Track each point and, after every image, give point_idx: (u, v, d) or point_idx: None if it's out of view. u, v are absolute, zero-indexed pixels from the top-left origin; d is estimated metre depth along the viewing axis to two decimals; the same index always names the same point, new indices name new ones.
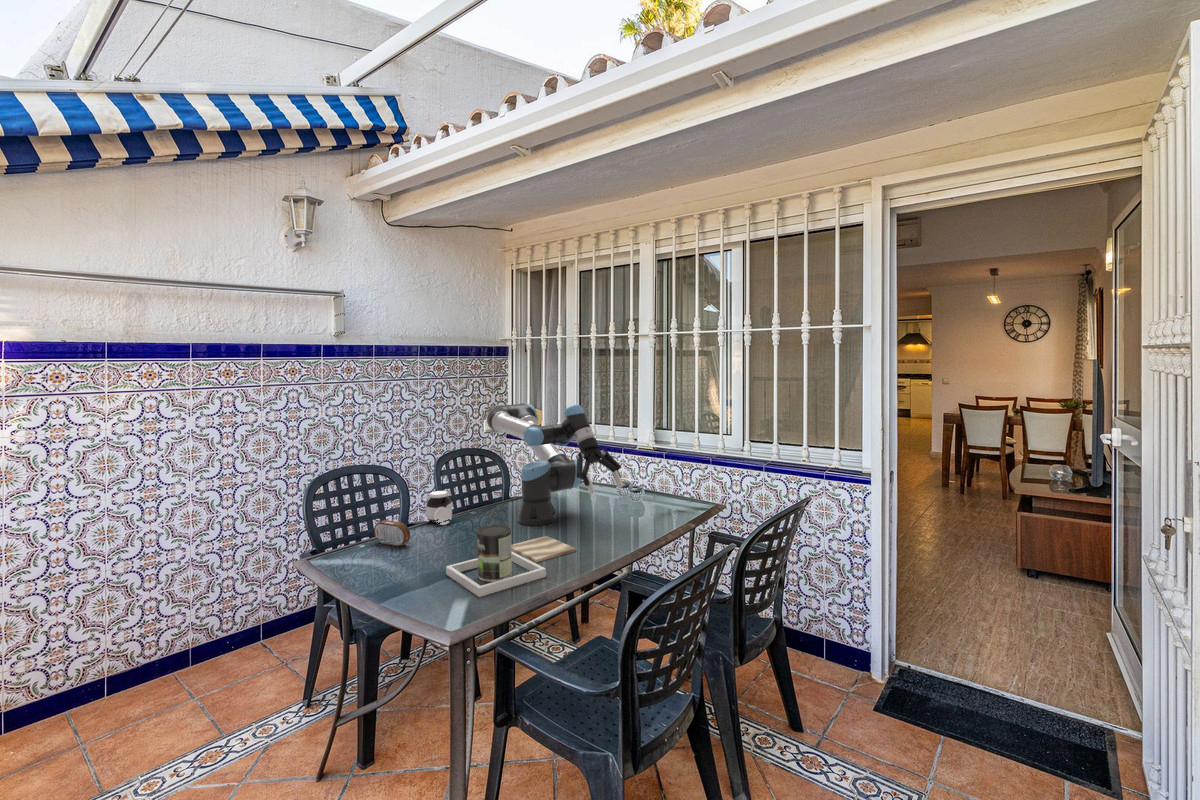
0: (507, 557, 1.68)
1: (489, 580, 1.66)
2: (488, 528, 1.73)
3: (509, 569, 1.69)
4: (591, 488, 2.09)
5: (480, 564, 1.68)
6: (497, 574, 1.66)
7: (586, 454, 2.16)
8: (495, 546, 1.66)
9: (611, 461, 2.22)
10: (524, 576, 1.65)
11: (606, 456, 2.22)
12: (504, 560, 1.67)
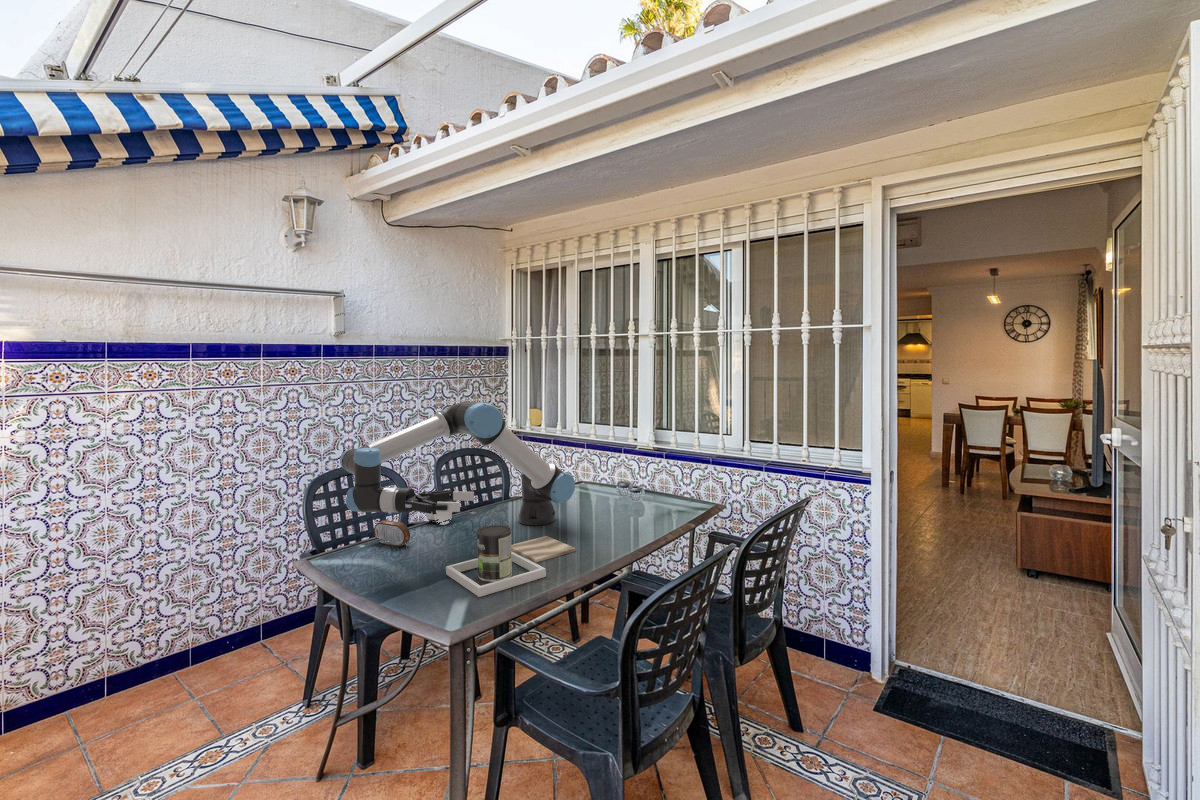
0: (507, 557, 1.68)
1: (489, 580, 1.66)
2: (488, 528, 1.73)
3: (509, 569, 1.69)
4: None
5: (480, 564, 1.68)
6: (497, 574, 1.66)
7: None
8: (495, 546, 1.66)
9: None
10: (524, 576, 1.65)
11: None
12: (504, 560, 1.67)
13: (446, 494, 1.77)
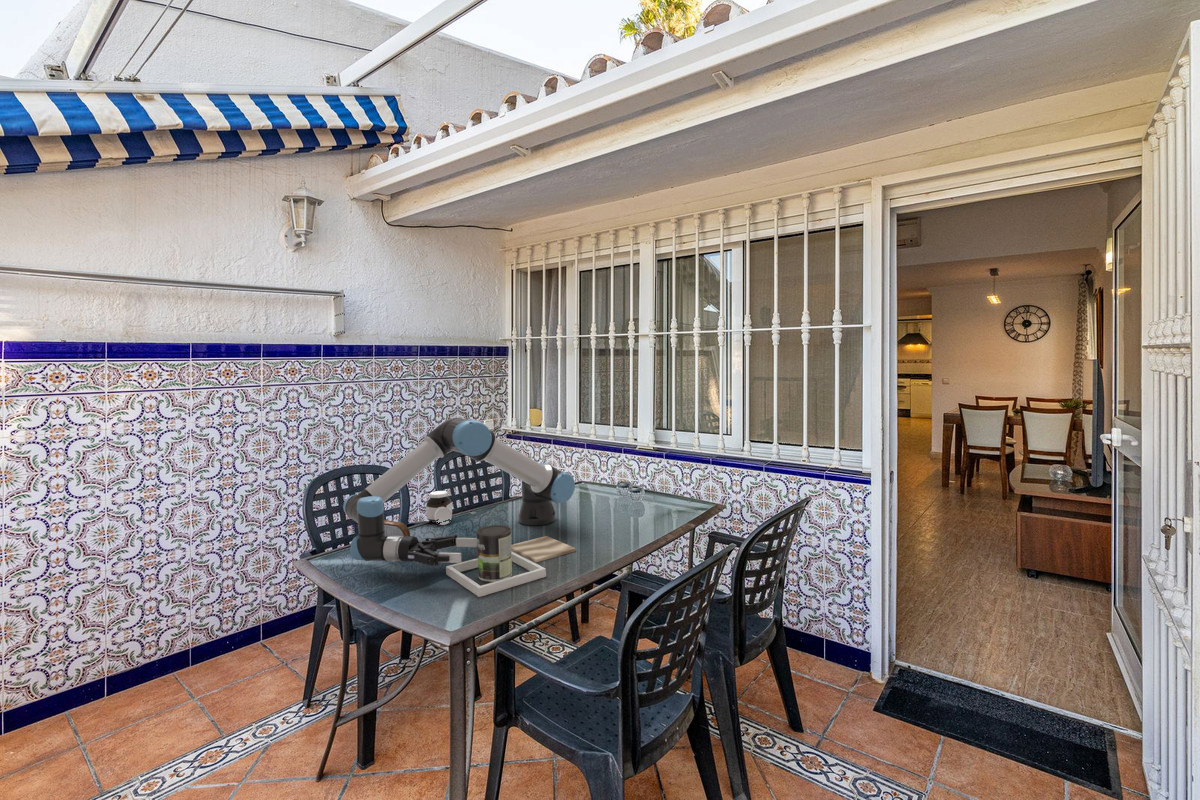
0: (507, 557, 1.68)
1: (489, 580, 1.66)
2: (488, 528, 1.73)
3: (509, 569, 1.69)
4: None
5: (480, 564, 1.68)
6: (497, 574, 1.66)
7: None
8: (495, 546, 1.66)
9: None
10: (524, 576, 1.65)
11: None
12: (504, 560, 1.67)
13: (449, 541, 1.78)
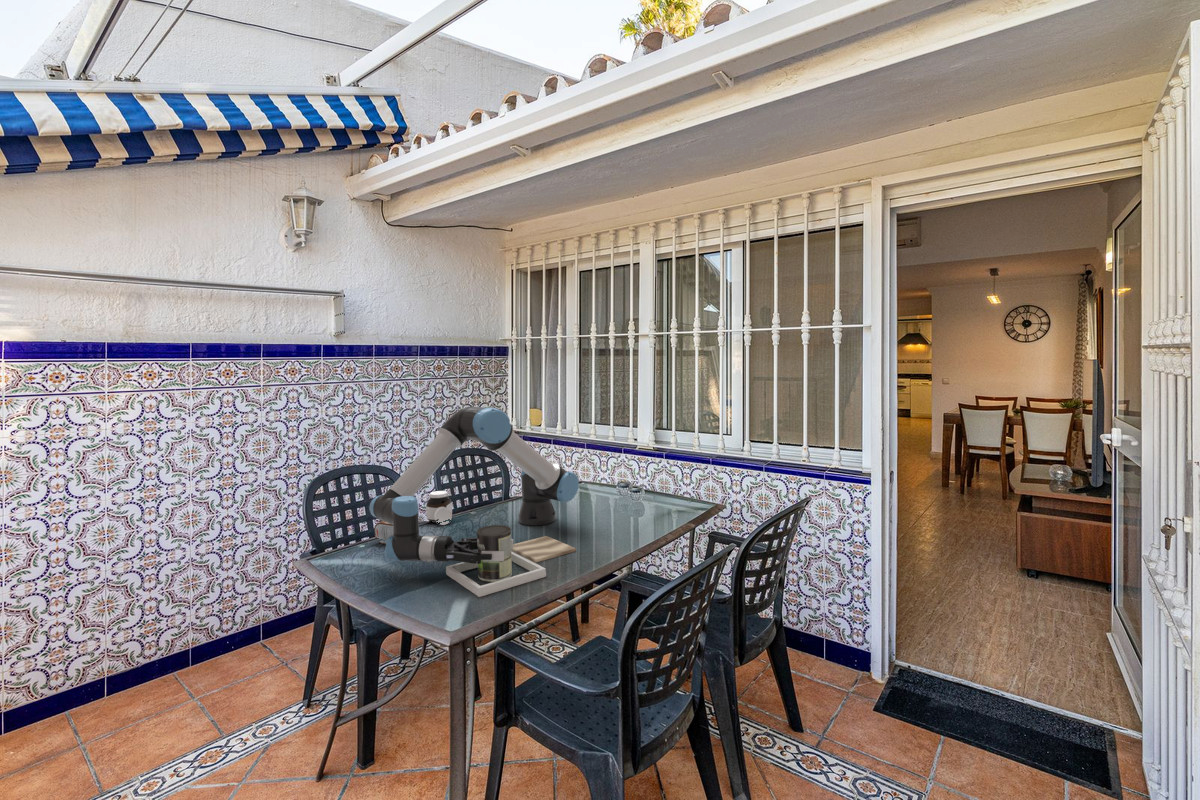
0: (507, 557, 1.68)
1: (489, 580, 1.66)
2: (488, 528, 1.73)
3: (509, 569, 1.69)
4: None
5: (480, 564, 1.68)
6: (496, 574, 1.66)
7: None
8: (495, 546, 1.66)
9: None
10: (524, 576, 1.65)
11: None
12: (504, 560, 1.67)
13: None
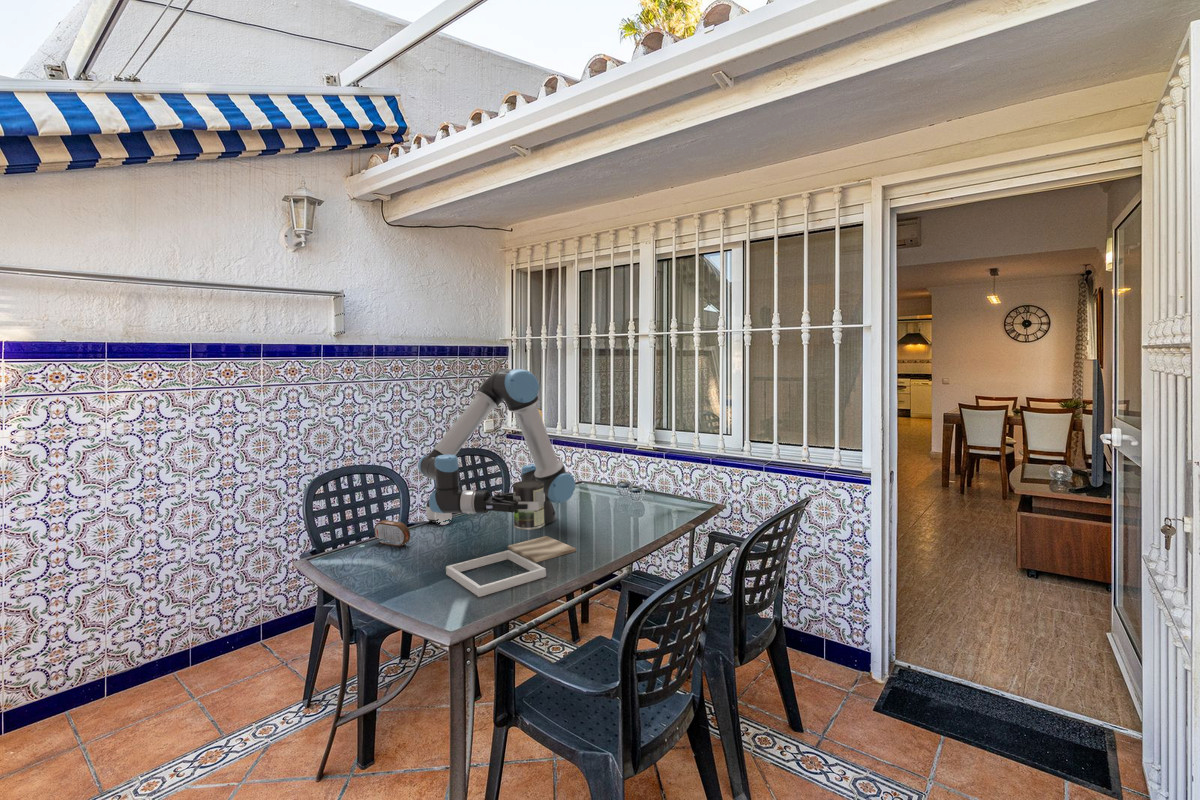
0: (541, 507, 1.85)
1: (525, 528, 1.83)
2: (522, 482, 1.89)
3: (542, 519, 1.86)
4: None
5: (516, 514, 1.85)
6: (531, 523, 1.83)
7: None
8: (530, 497, 1.83)
9: None
10: (524, 576, 1.65)
11: None
12: (538, 510, 1.84)
13: None
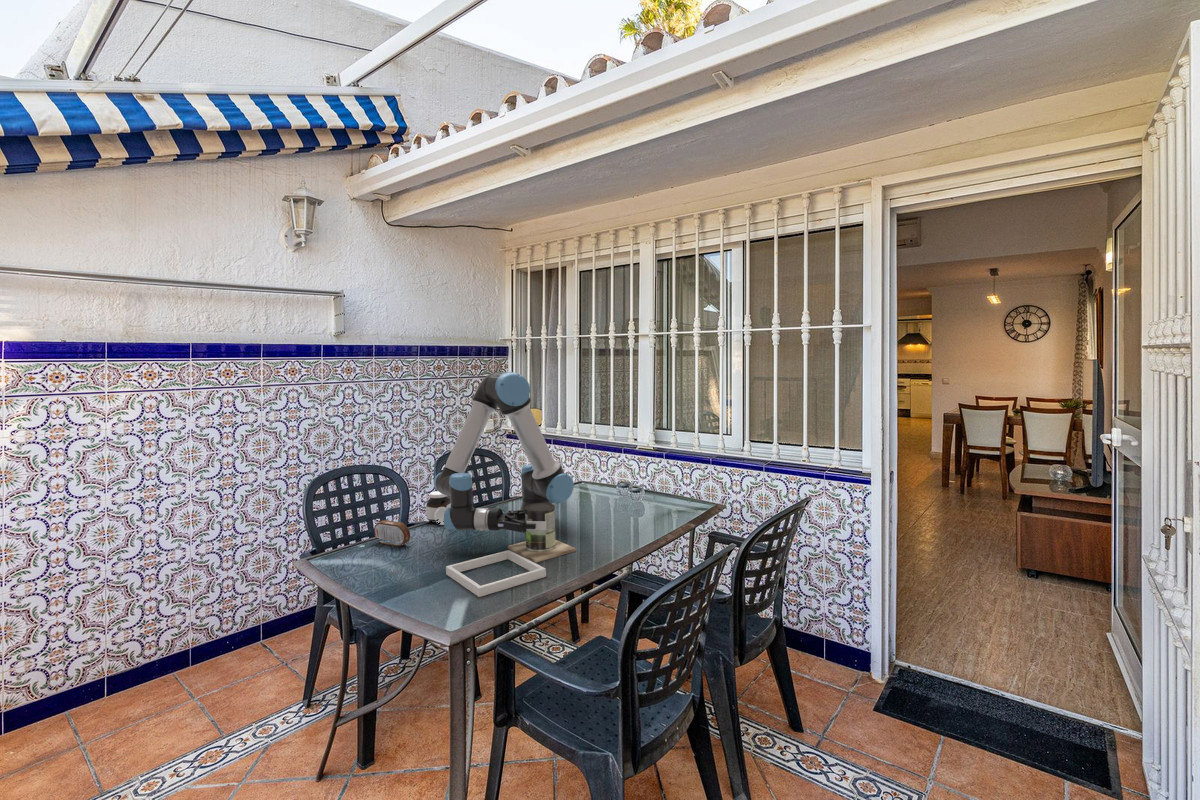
0: (552, 530, 1.90)
1: (536, 550, 1.88)
2: (534, 505, 1.94)
3: (553, 541, 1.91)
4: None
5: (528, 536, 1.89)
6: (543, 545, 1.88)
7: None
8: (542, 520, 1.87)
9: None
10: (524, 576, 1.65)
11: None
12: (549, 533, 1.89)
13: None
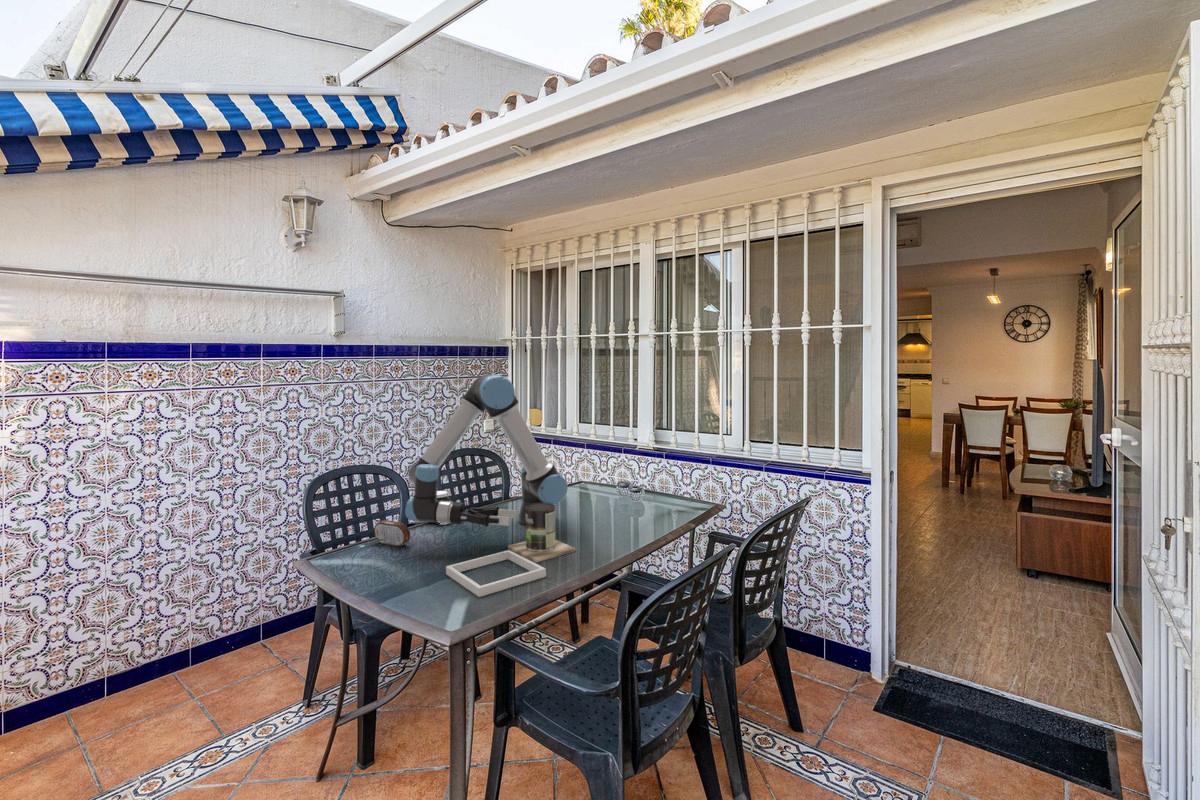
0: (552, 530, 1.90)
1: (537, 550, 1.88)
2: (534, 505, 1.94)
3: (553, 541, 1.91)
4: None
5: (528, 536, 1.89)
6: (543, 545, 1.88)
7: None
8: (542, 520, 1.87)
9: None
10: (524, 576, 1.65)
11: None
12: (549, 533, 1.89)
13: (492, 511, 2.01)
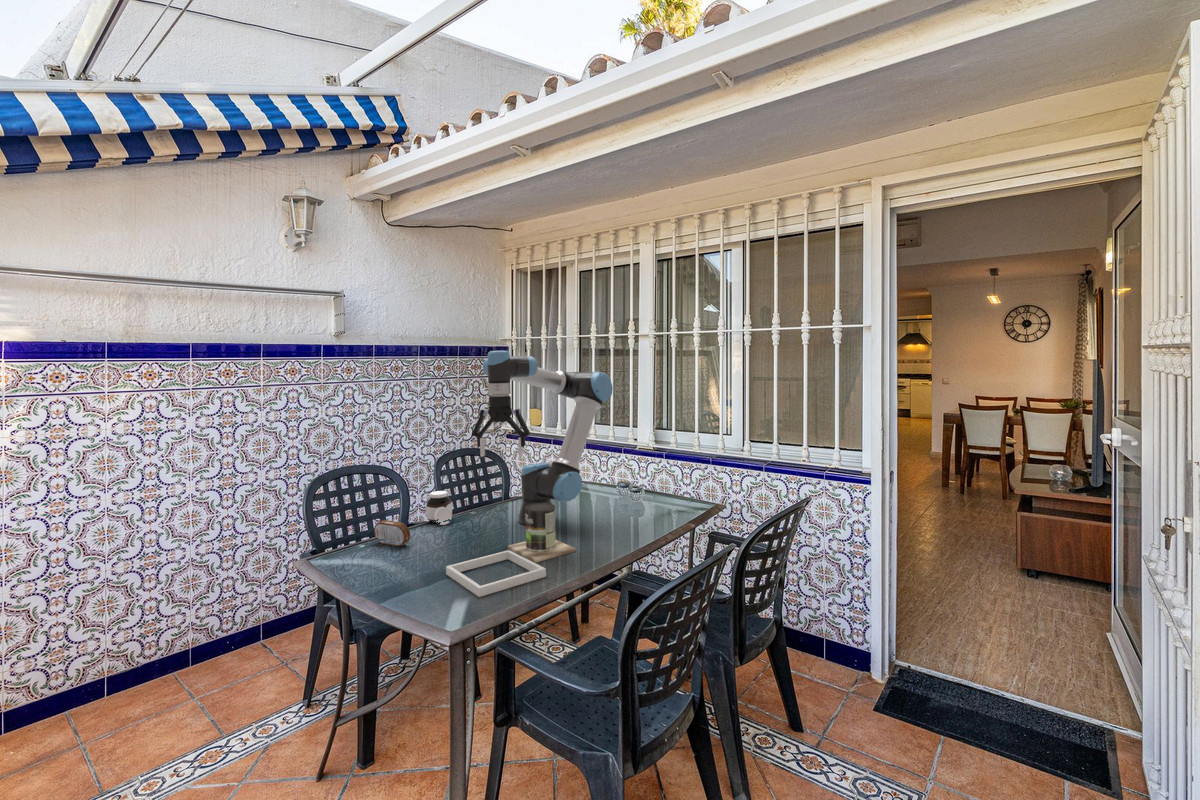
0: (552, 530, 1.90)
1: (537, 550, 1.88)
2: (534, 505, 1.94)
3: (553, 541, 1.91)
4: None
5: (528, 536, 1.89)
6: (543, 545, 1.88)
7: (489, 413, 1.95)
8: (542, 520, 1.87)
9: None
10: (524, 576, 1.65)
11: None
12: (549, 533, 1.89)
13: (485, 431, 1.97)
